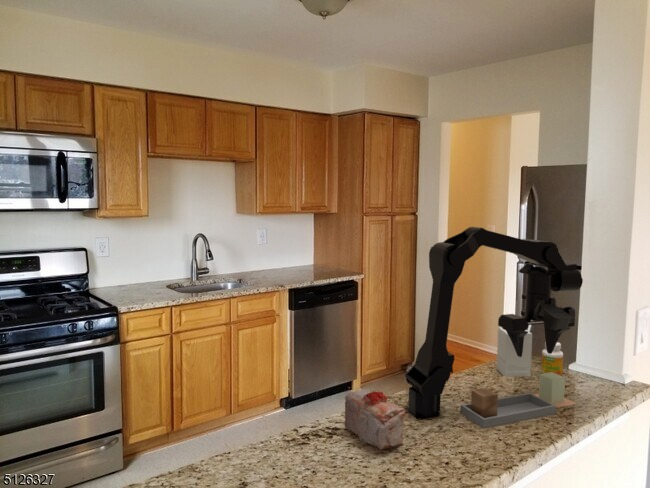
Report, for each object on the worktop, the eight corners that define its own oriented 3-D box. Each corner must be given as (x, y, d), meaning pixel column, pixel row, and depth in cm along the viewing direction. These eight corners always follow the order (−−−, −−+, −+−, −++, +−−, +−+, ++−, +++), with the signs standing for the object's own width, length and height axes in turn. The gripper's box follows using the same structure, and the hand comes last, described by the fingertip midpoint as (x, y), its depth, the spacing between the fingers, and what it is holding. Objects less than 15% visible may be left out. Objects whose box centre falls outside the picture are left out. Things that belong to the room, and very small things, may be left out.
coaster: (551, 411, 118) (551, 408, 118) (526, 398, 125) (526, 395, 125) (577, 405, 121) (577, 403, 121) (551, 393, 128) (551, 391, 128)
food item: (410, 445, 102) (411, 398, 101) (381, 457, 97) (382, 408, 96) (366, 421, 113) (366, 378, 112) (338, 431, 108) (338, 386, 107)
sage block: (551, 404, 120) (552, 379, 120) (538, 397, 124) (539, 374, 124) (564, 401, 122) (565, 377, 121) (551, 395, 126) (552, 372, 125)
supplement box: (531, 378, 139) (533, 333, 138) (504, 378, 139) (506, 333, 138) (521, 369, 146) (523, 326, 145) (495, 369, 146) (497, 326, 145)
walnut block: (482, 423, 110) (483, 396, 110) (470, 415, 114) (471, 390, 114) (497, 420, 112) (497, 394, 111) (485, 413, 116) (486, 387, 115)
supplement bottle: (542, 379, 138) (543, 345, 137) (539, 372, 143) (541, 339, 142) (563, 381, 136) (565, 346, 135) (560, 374, 142) (562, 341, 141)
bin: (483, 431, 108) (483, 419, 108) (460, 415, 116) (460, 404, 115) (555, 416, 115) (556, 405, 115) (529, 402, 123) (530, 392, 123)
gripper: (531, 300, 111) (527, 369, 112) (595, 296, 117) (591, 361, 119) (498, 291, 121) (495, 354, 123) (558, 288, 128) (554, 348, 129)
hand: (534, 354), depth 123 cm, fingers open, 9 cm apart
